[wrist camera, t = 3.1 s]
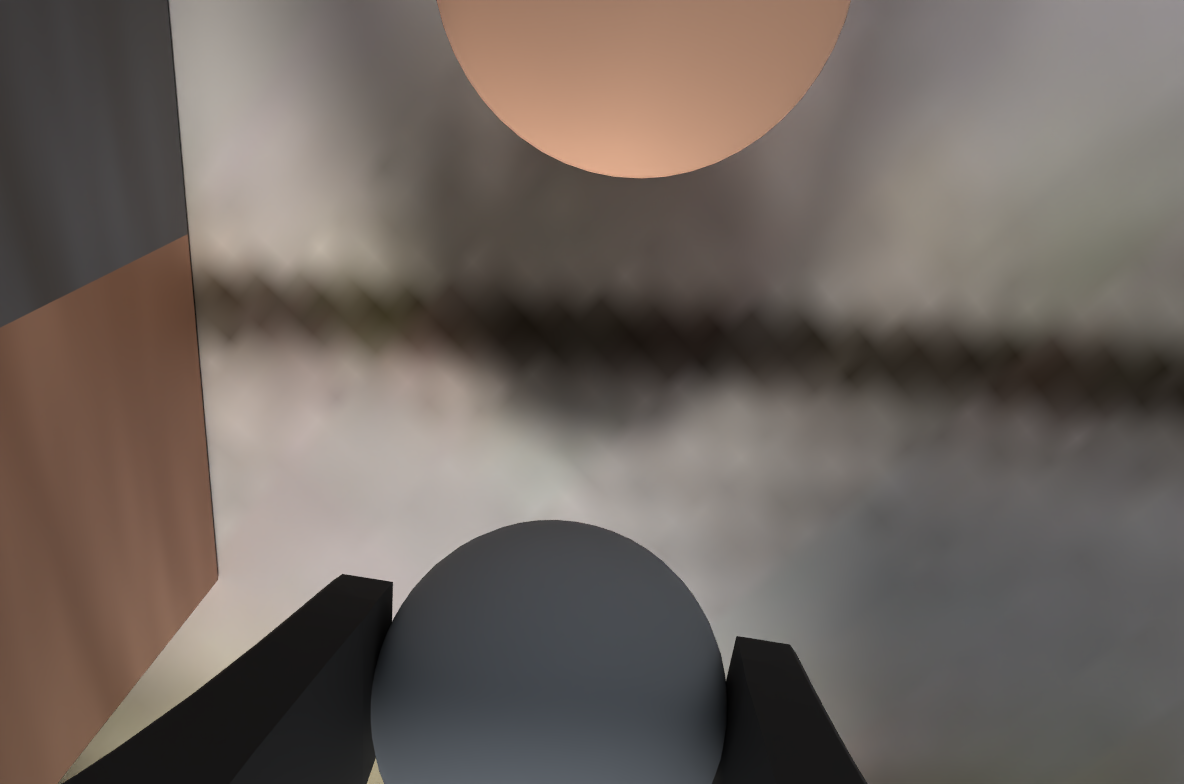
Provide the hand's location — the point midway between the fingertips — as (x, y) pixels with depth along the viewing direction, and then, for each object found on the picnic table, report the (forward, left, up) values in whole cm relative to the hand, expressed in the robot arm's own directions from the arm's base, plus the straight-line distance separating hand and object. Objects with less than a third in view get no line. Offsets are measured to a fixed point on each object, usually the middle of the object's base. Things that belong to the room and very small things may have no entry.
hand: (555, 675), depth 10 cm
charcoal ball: (0, 0, -2) cm, 2 cm away
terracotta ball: (0, -8, -4) cm, 8 cm away
